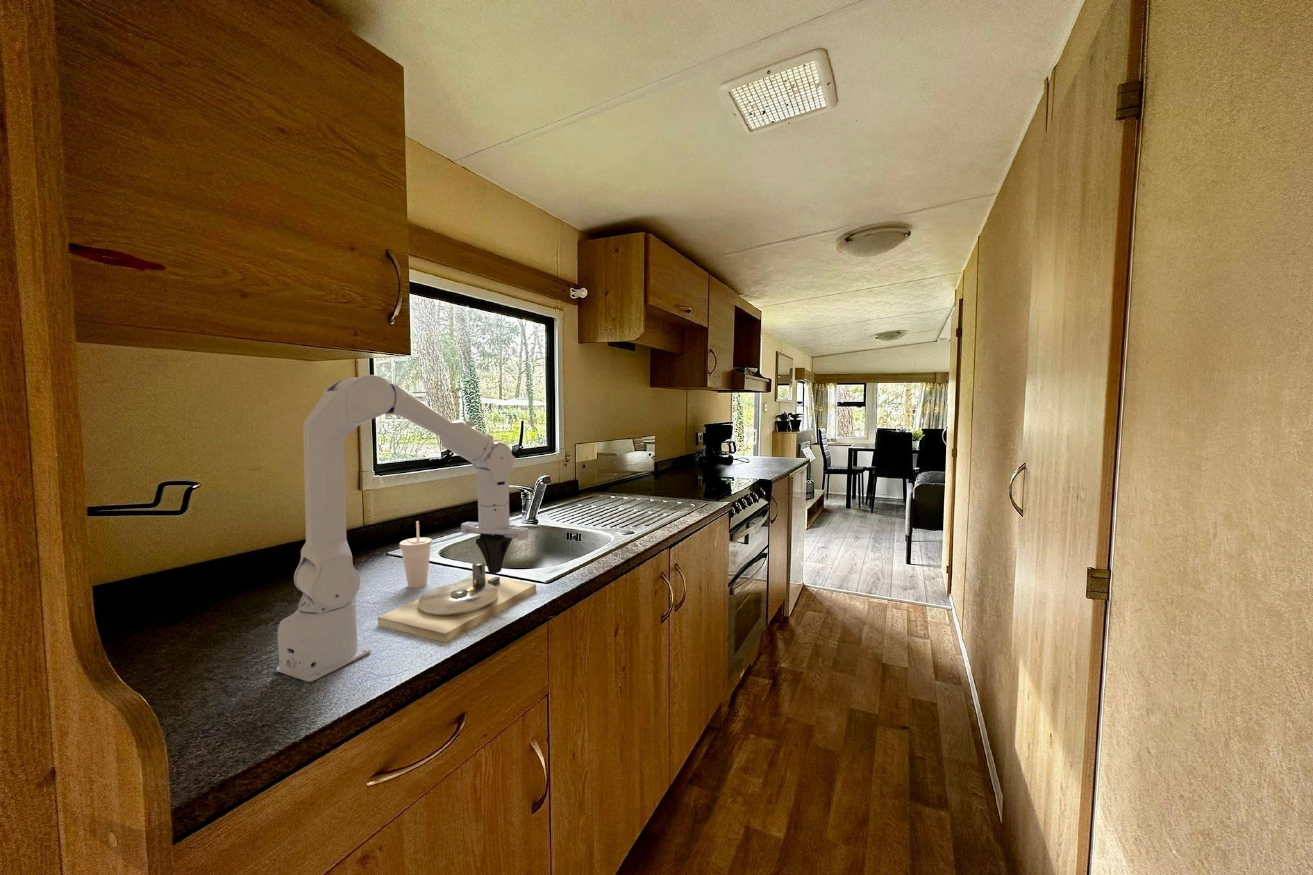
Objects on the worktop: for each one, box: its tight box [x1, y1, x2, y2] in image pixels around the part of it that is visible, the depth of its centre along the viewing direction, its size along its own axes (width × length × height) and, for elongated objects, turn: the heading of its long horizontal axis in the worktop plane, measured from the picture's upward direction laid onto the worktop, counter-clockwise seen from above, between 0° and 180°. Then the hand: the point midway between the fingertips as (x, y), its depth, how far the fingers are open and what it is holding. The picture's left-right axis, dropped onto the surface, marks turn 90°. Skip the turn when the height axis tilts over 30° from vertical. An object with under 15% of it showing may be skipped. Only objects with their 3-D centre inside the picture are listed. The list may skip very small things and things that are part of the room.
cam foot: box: [418, 561, 498, 616], centre depth 94 cm, size 14×14×5 cm
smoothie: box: [399, 520, 433, 589], centre depth 106 cm, size 6×6×14 cm
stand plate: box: [377, 575, 537, 643], centre depth 95 cm, size 24×16×3 cm, turn 157°
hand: (495, 572), depth 96 cm, fingers closed
